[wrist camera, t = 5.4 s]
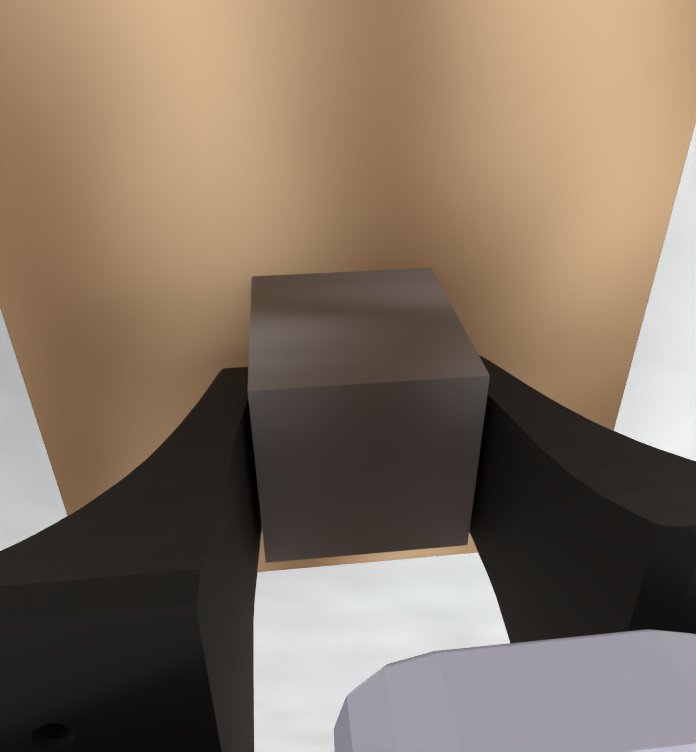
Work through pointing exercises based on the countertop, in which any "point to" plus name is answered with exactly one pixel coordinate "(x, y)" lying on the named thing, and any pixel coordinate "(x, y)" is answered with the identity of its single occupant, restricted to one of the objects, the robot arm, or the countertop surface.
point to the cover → (332, 235)
